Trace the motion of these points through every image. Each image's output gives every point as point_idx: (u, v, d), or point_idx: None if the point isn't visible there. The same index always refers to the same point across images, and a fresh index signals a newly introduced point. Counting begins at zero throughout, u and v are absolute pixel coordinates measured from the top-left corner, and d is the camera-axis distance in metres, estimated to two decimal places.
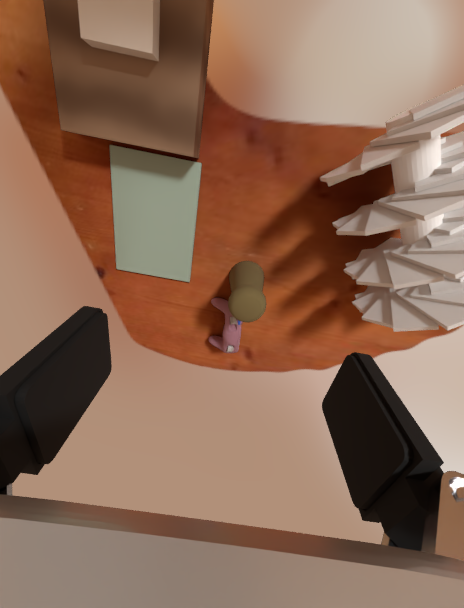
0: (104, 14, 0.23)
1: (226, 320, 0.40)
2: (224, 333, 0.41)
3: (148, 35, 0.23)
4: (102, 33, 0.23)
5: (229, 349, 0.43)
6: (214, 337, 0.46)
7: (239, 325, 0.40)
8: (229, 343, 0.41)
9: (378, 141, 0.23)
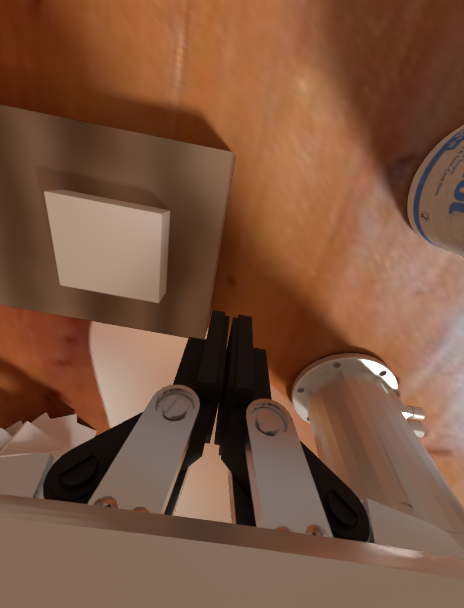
0: (77, 233, 0.18)
1: None
2: None
3: (74, 283, 0.19)
4: (58, 225, 0.17)
5: None
6: None
7: None
8: None
9: None
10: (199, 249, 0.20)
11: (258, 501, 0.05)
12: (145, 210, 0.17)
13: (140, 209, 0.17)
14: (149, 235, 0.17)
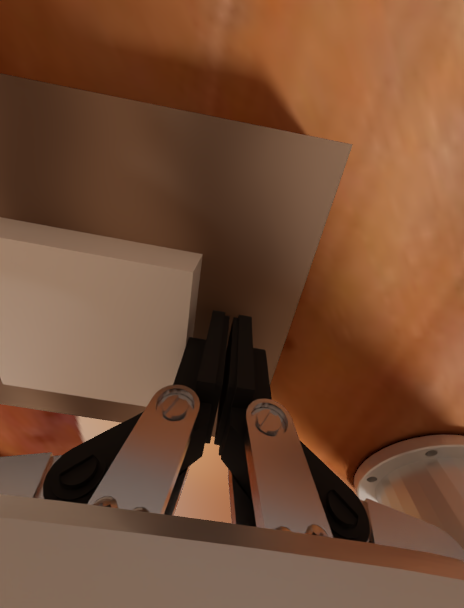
0: (23, 304, 0.09)
1: None
2: None
3: (28, 381, 0.11)
4: None
5: None
6: None
7: None
8: None
9: None
10: (258, 320, 0.11)
11: (258, 501, 0.05)
12: (158, 263, 0.08)
13: (147, 261, 0.08)
14: (165, 310, 0.09)
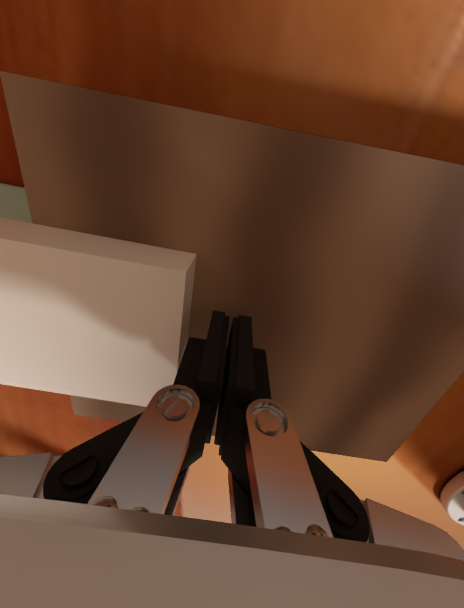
0: (16, 304, 0.09)
1: None
2: None
3: (23, 381, 0.11)
4: None
5: None
6: None
7: None
8: None
9: None
10: (446, 352, 0.11)
11: (258, 501, 0.05)
12: (151, 263, 0.08)
13: (140, 261, 0.08)
14: (159, 309, 0.09)
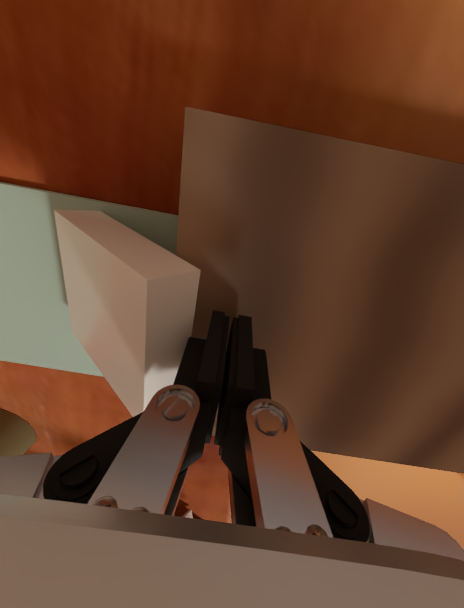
0: (76, 275, 0.11)
1: None
2: None
3: (79, 337, 0.14)
4: (64, 259, 0.12)
5: None
6: None
7: None
8: None
9: None
10: None
11: (258, 501, 0.05)
12: (132, 263, 0.08)
13: (127, 259, 0.08)
14: (132, 313, 0.08)
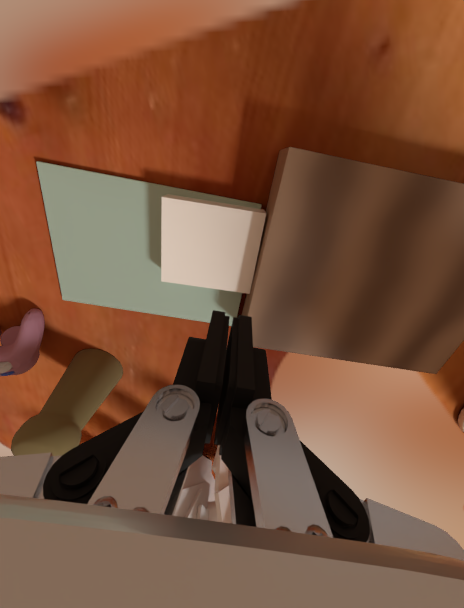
0: (186, 233, 0.20)
1: None
2: None
3: (175, 279, 0.22)
4: (169, 227, 0.19)
5: None
6: None
7: None
8: None
9: None
10: None
11: (258, 501, 0.05)
12: (250, 210, 0.19)
13: (246, 210, 0.19)
14: (251, 233, 0.19)
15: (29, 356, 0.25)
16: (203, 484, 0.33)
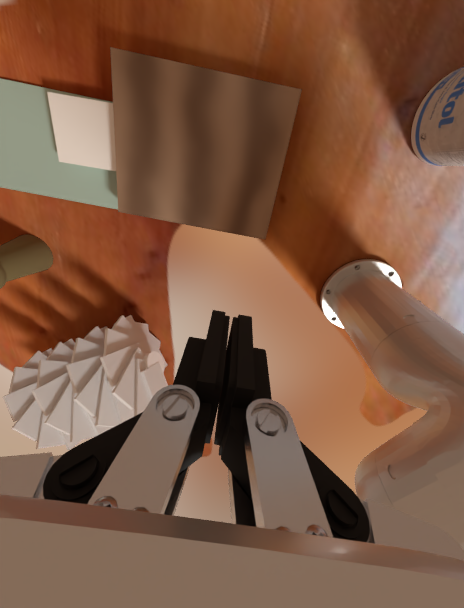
0: (68, 120, 0.29)
1: None
2: None
3: (68, 159, 0.31)
4: (56, 115, 0.29)
5: None
6: None
7: None
8: None
9: (134, 354, 0.36)
10: (271, 163, 0.29)
11: (258, 501, 0.05)
12: (107, 102, 0.28)
13: (104, 102, 0.28)
14: (111, 119, 0.29)
15: None
16: None
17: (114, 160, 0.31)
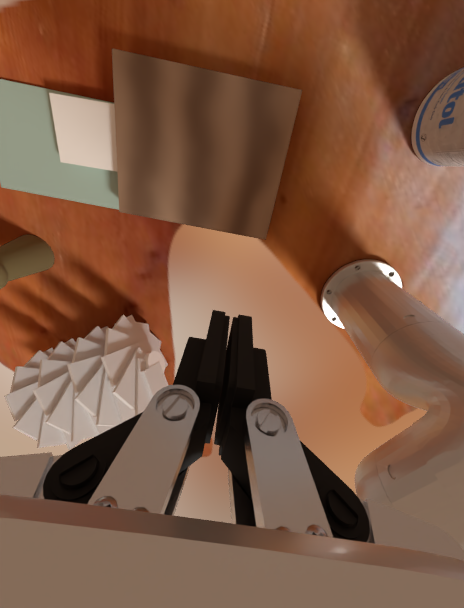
0: (69, 121, 0.29)
1: None
2: None
3: (69, 160, 0.31)
4: (58, 116, 0.29)
5: None
6: None
7: None
8: None
9: (134, 354, 0.36)
10: (271, 163, 0.29)
11: (258, 501, 0.05)
12: None
13: (106, 103, 0.28)
14: (112, 120, 0.29)
15: None
16: None
17: (115, 160, 0.31)
